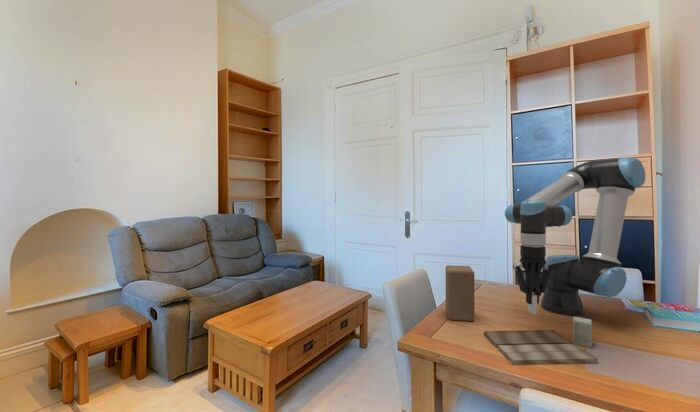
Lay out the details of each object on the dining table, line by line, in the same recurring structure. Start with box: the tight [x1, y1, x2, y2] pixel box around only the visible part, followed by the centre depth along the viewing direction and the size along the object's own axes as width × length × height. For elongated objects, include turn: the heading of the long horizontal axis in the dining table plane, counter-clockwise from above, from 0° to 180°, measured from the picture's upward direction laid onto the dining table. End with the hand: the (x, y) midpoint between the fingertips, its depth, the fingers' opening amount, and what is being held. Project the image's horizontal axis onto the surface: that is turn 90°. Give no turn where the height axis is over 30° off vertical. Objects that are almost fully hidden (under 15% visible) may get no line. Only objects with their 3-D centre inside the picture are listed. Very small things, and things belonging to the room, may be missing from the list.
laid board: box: [497, 343, 599, 365], centre depth 95 cm, size 25×9×1 cm, turn 90°
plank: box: [483, 329, 574, 349], centre depth 105 cm, size 25×9×1 cm, turn 90°
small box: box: [572, 316, 593, 348], centre depth 102 cm, size 5×4×8 cm
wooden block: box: [445, 264, 475, 322], centre depth 126 cm, size 10×10×20 cm
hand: (532, 312), depth 108 cm, fingers closed
